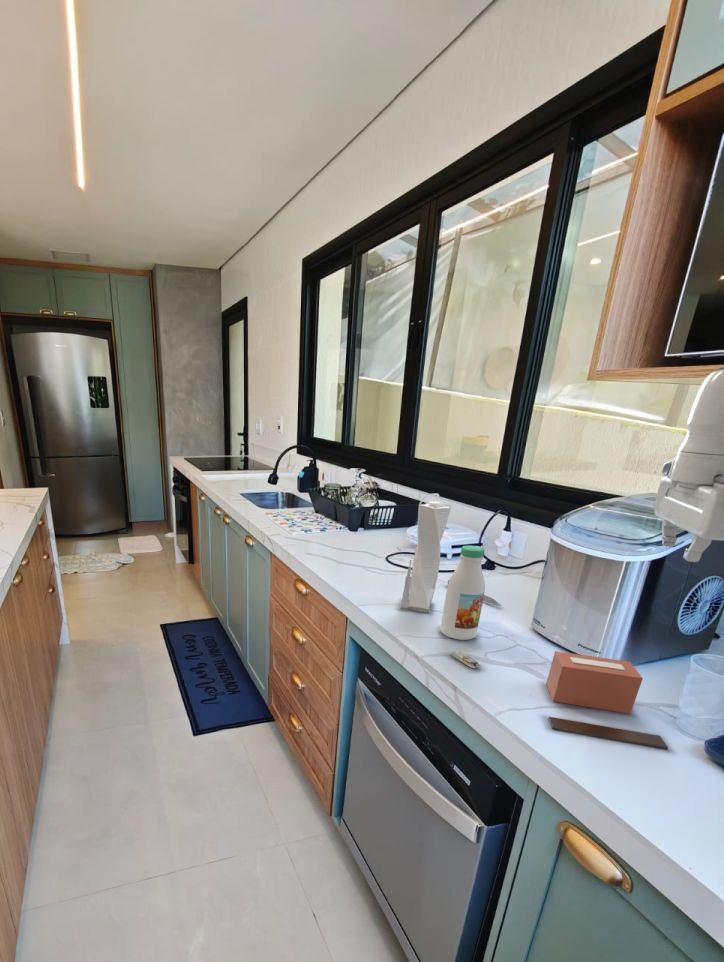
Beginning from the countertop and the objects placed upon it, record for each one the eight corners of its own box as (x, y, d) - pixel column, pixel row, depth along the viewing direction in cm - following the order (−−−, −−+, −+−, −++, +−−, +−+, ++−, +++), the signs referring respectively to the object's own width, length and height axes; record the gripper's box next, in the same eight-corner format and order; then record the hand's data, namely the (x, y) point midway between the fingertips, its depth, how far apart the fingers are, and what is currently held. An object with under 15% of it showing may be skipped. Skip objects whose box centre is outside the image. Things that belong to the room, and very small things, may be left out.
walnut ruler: (659, 737, 79) (660, 735, 79) (667, 749, 77) (668, 747, 76) (548, 718, 83) (548, 716, 83) (552, 728, 81) (552, 726, 81)
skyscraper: (403, 597, 133) (418, 491, 123) (435, 602, 131) (453, 494, 120) (400, 609, 126) (415, 496, 115) (433, 614, 123) (452, 500, 113)
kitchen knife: (446, 586, 143) (447, 579, 142) (449, 585, 143) (450, 579, 142) (499, 609, 128) (501, 601, 127) (502, 608, 128) (503, 601, 127)
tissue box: (545, 684, 94) (555, 650, 91) (618, 695, 91) (630, 660, 88) (552, 701, 88) (562, 665, 86) (630, 714, 85) (643, 677, 83)
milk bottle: (438, 636, 111) (452, 549, 104) (441, 623, 118) (455, 541, 111) (475, 643, 109) (492, 554, 101) (476, 629, 115) (492, 545, 108)
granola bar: (448, 655, 103) (449, 650, 103) (456, 653, 104) (457, 648, 104) (473, 670, 98) (473, 665, 97) (481, 668, 98) (482, 663, 98)
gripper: (766, 481, 72) (731, 573, 77) (699, 466, 90) (674, 540, 95) (714, 478, 74) (683, 568, 79) (658, 463, 92) (636, 537, 97)
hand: (677, 553), depth 87 cm, fingers open, 8 cm apart
